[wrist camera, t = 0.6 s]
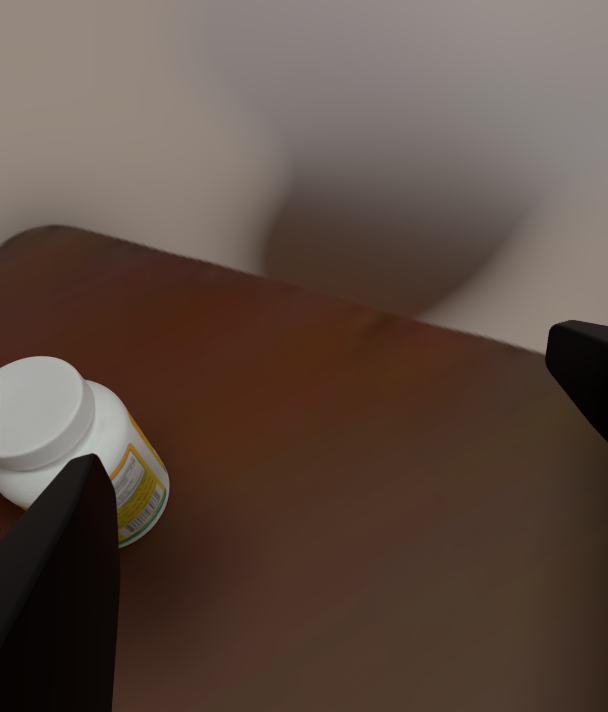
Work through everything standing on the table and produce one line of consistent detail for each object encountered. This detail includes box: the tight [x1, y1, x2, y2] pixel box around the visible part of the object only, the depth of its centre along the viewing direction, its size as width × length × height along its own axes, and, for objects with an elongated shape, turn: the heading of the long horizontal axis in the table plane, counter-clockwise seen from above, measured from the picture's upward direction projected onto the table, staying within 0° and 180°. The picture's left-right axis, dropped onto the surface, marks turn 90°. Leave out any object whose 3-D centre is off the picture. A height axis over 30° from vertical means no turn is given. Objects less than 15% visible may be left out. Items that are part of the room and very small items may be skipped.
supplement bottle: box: [0, 356, 169, 548], centre depth 21 cm, size 5×5×10 cm
